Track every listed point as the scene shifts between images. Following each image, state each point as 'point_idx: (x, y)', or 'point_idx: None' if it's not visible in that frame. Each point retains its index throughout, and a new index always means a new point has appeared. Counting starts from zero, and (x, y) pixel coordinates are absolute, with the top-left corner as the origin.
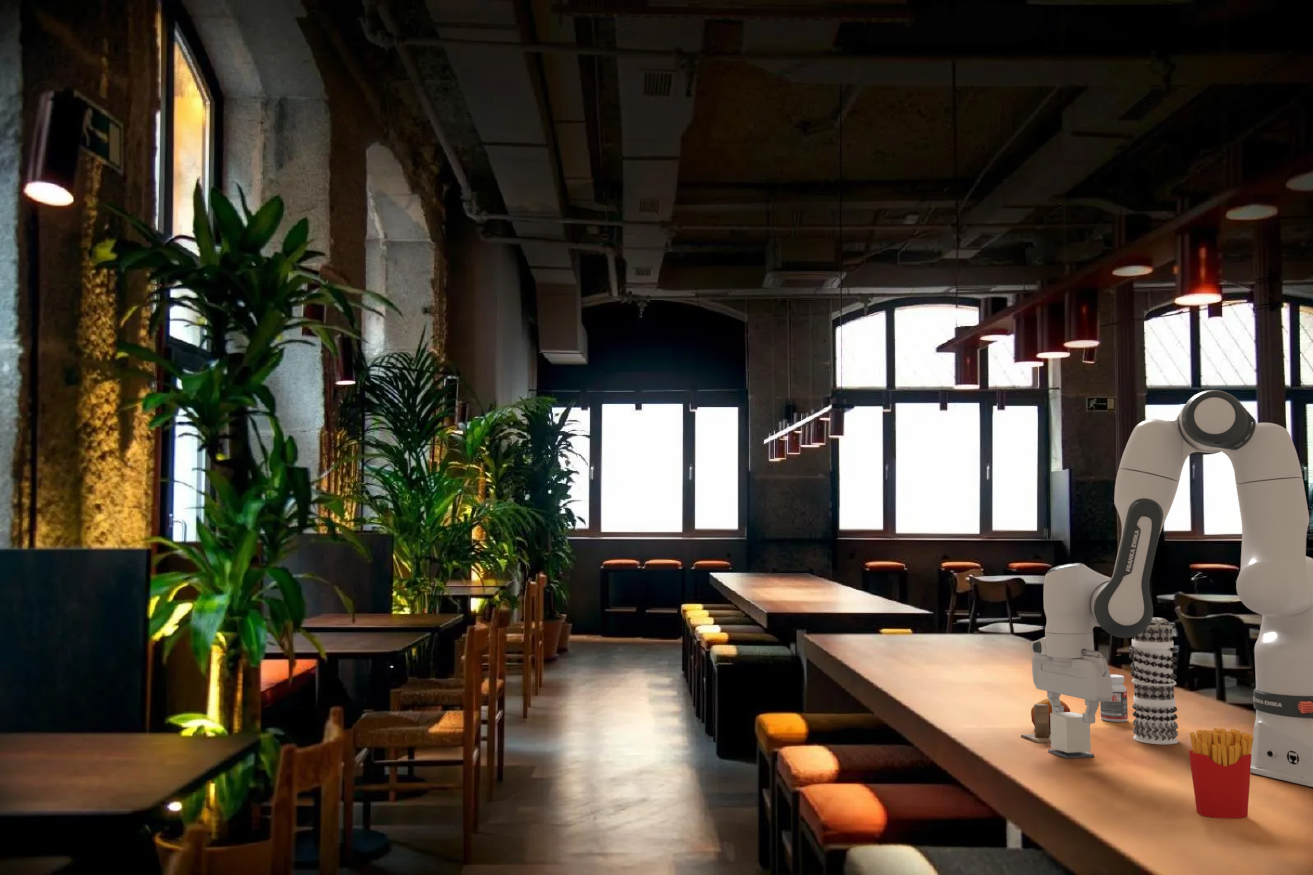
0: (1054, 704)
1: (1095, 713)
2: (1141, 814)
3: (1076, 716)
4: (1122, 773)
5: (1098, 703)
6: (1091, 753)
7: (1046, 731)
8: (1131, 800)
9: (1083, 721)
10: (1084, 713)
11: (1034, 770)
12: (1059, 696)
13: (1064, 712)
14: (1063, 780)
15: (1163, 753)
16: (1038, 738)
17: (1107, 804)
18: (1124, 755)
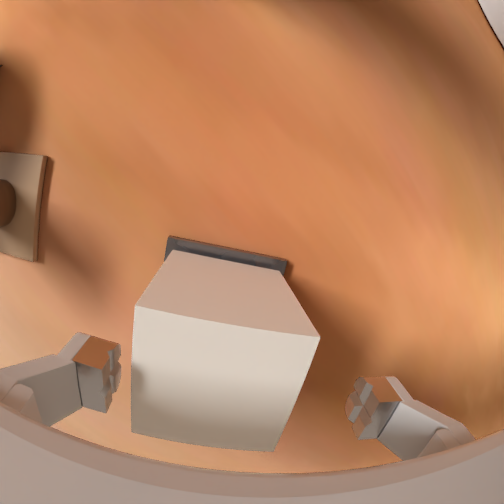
0: (72, 404)
1: (418, 402)
2: (491, 432)
3: (273, 399)
4: (435, 336)
5: (466, 433)
6: (274, 261)
7: (3, 206)
8: (479, 419)
9: (347, 409)
10: (369, 434)
11: (301, 468)
12: (32, 394)
13: (137, 369)
14: (379, 457)
15: (351, 16)
16: (14, 236)
17: None
18: (320, 137)
